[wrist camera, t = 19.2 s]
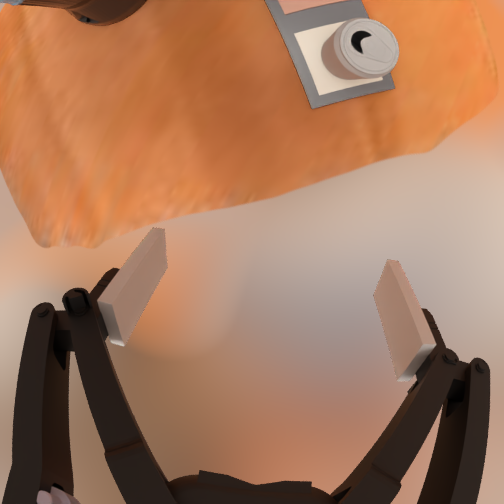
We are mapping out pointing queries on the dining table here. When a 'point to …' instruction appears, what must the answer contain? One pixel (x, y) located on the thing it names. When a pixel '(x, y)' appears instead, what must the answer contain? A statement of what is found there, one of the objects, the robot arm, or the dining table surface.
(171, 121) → the dining table surface
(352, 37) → the beverage can
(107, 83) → the dining table surface
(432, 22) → the dining table surface
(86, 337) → the robot arm
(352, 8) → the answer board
